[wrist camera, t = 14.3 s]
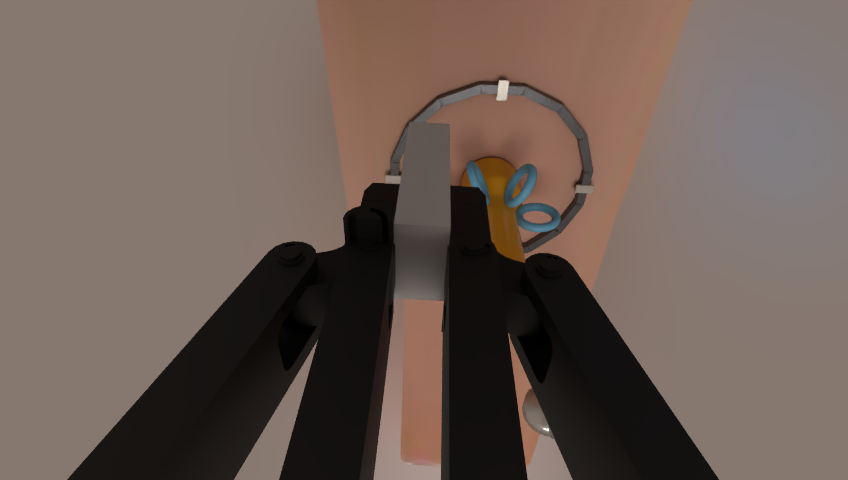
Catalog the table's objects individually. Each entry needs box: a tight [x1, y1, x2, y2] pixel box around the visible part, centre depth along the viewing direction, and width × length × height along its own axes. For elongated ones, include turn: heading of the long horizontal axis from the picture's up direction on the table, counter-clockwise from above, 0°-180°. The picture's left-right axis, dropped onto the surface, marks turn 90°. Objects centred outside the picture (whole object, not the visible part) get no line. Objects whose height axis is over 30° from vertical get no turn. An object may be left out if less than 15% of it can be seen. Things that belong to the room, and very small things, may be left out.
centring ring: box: [386, 80, 594, 253], centre depth 48 cm, size 21×21×1 cm
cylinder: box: [461, 157, 561, 263], centre depth 43 cm, size 12×10×15 cm
